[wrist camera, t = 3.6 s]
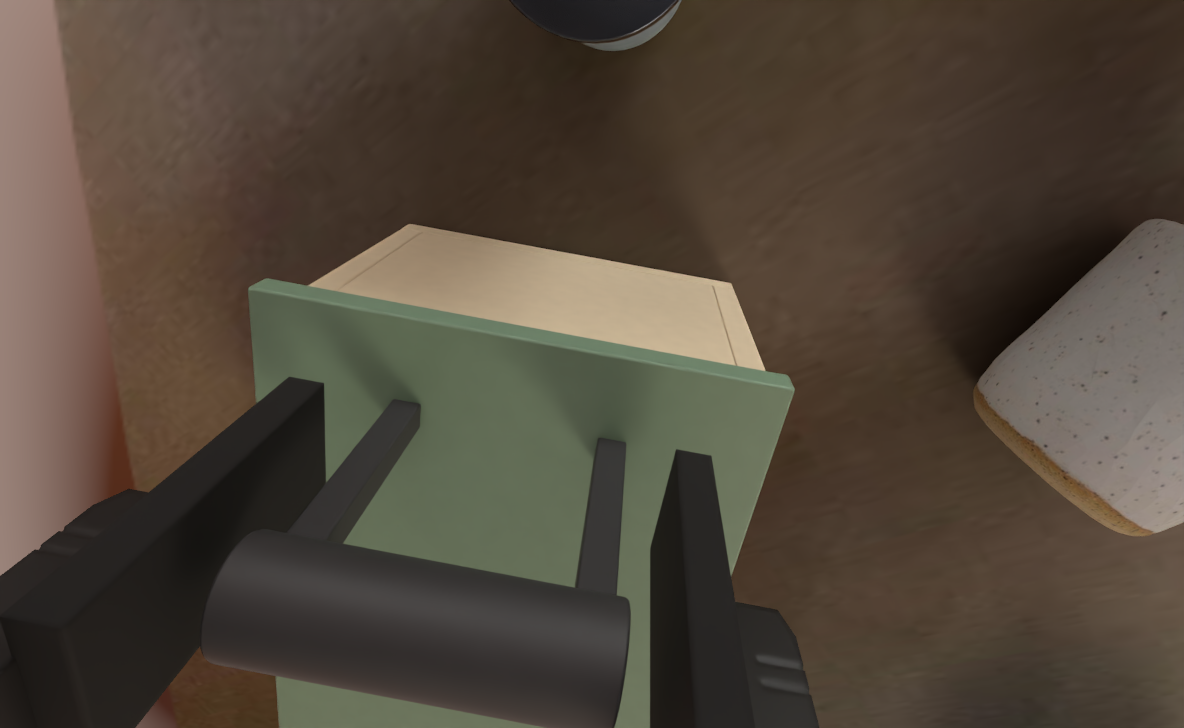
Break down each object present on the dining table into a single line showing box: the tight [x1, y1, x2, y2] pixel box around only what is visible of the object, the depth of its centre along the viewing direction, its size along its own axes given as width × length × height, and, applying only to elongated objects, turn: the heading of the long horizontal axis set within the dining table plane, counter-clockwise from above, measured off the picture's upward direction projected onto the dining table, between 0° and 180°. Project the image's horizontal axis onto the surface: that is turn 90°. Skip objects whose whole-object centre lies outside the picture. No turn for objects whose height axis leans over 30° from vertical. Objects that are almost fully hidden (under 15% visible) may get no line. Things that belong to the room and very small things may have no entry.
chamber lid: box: [200, 278, 794, 728], centre depth 15 cm, size 16×13×8 cm
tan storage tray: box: [308, 224, 765, 371], centre depth 23 cm, size 16×13×10 cm
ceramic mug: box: [973, 219, 1184, 536], centre depth 21 cm, size 11×8×8 cm
